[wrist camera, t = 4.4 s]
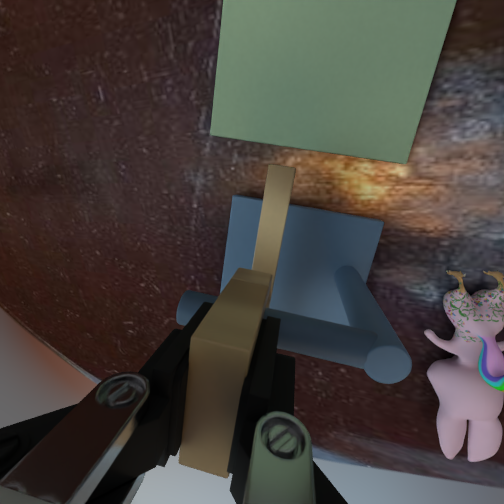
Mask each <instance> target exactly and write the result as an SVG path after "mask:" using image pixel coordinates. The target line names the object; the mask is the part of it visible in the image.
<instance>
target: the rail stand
mask: <svg viewBox="0 0 504 504" xmlns="http://www.w3.org/2000/svg"><path fill="white" fill-rule="evenodd" d="M262 203H263V199H260V198H254V197H248V196H242V195H234V196H233V199H232V206H231V214H230V222H229V229H228V237H227V245H226V252H225V260H224V267H223V275H222V283H221V290H220V294H221V292H222V291H223V289H224V288H225V286H226V285H227V284H228V282H229V281H230V279H231V278H232V276H233V275H234V274H235V272H236V271H237V269H238V268H245V269H250V270H252V264H253V258H254V252H255V246H256V240H257V234H258V228H259V221H260V215H261V209H262ZM383 225H384V222H383V221H381V220H379V219H374V218H368V217H363V216H357V215H351V214H346V213H340V212H334V211H328V210H323V209H317V208H311V207H305V206H300V205H294V204H289V209H288V214H287V219H286V224H285V229H284V235H283V240H282V245H281V250H280V255H279V260H278V266H277V271H276V276H275V281H274V286H273V291H272V297H271V302H270V307H269V308H266V307H265V313H264V318H263V319H267V316H271V317H275V318H280V319H281V322H280V329H279V337H278V344H277V348H280V349H284V350H288V351H292V352H296V353H300V354H304V355H309V356H313V357H317V358H321V359H325V360H329V361H333V362H338V363H342V364H346V365H350V366H354V367H358V368H362V369H365V371H366V373H367V374H368V375H369V376H370V377H371V378H372V379H374V380H375V381H378V382H381V383H387V384H389V383H396V382H399V381H401V380H403V379H404V378H406V377H407V376H408V374H409V373H410V371H411V367H412V361H411V358H410V356H409V354H408V352H407V351H406V349H405V348H404V346H403V344H402V343H401V341H400V339H399V338H398V336H397V334H396V333H395V331H394V330H393V328H392V326H391V325H390V323H389V321H388V320H387V318H386V317H385V315H384V313H383V312H382V310H381V308H380V307H379V305H378V303H377V302H376V300H375V299H374V297H373V295H372V294H371V292H370V290H369V289H368V287H367V286H366V281H367V278H368V275H369V271H370V268H371V265H372V261H373V258H374V255H375V252H376V248H377V245H378V242H379V238H380V235H381V232H382V229H383ZM217 298H218V297H217V296H213V295H208V294H204V293H199V292H195V291H191V290H188V291H186V292H185V293H184V294H183V296H182V297H181V299H180V302H179V305H178V308H177V316H176V319H177V323H178V324H180V325H184V326H186V324H187V323H188V322H189V321H190V319H191V318H192V317H193V315H194V314H195V313H196V311H197V310H198V309H199V308H200V306H201V305H202V304H203V302H209V303H215V301H216V300H217Z"/></svg>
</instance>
